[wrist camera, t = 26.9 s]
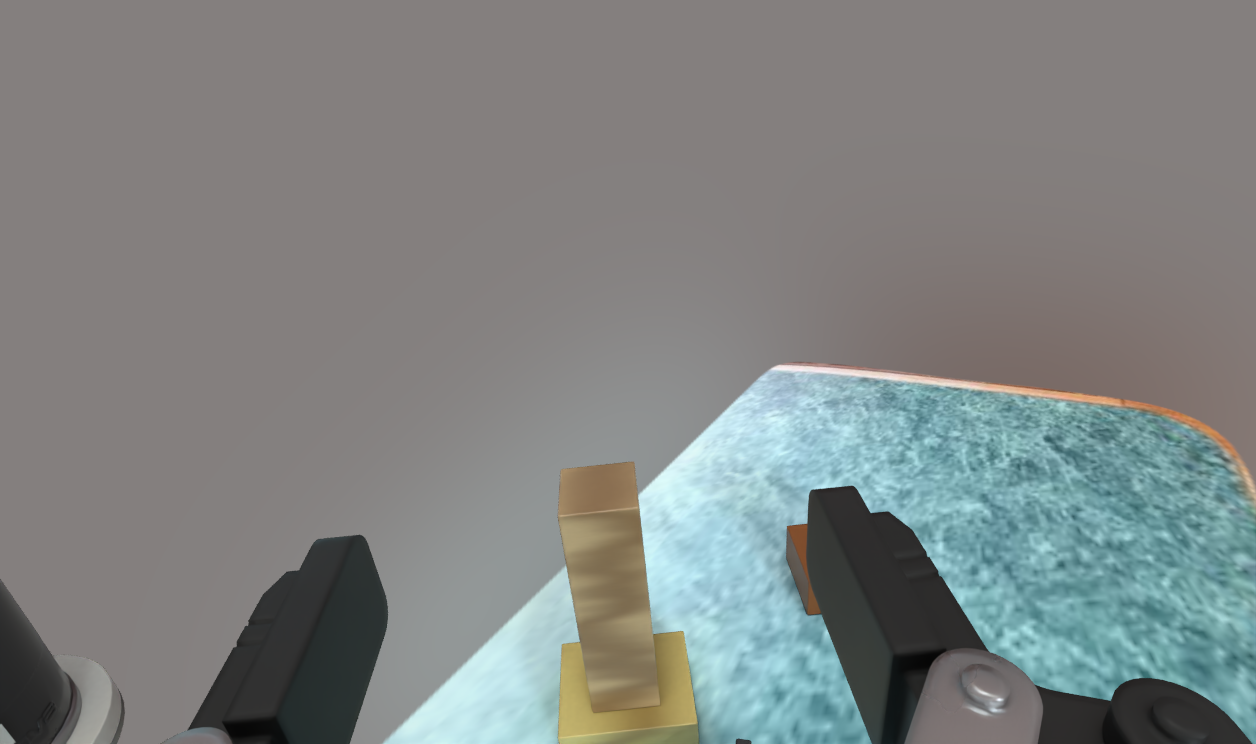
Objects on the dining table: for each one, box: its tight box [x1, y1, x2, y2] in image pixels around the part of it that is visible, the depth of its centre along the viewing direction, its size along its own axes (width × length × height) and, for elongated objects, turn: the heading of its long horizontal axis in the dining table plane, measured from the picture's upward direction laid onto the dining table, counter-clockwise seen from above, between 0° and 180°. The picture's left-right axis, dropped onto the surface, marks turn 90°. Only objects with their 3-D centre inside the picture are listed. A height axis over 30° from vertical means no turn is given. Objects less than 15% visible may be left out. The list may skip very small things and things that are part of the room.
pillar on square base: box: [558, 462, 699, 744], centre depth 29 cm, size 6×5×13 cm
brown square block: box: [786, 524, 821, 615], centre depth 38 cm, size 4×4×2 cm
